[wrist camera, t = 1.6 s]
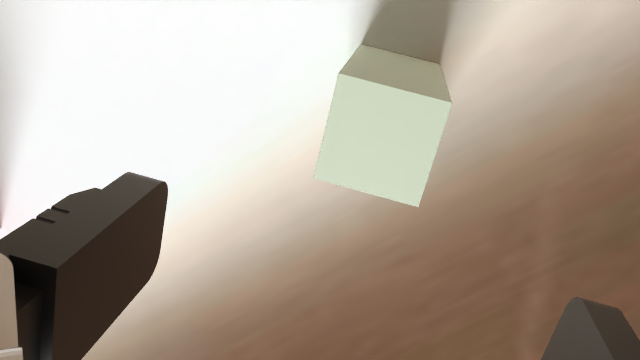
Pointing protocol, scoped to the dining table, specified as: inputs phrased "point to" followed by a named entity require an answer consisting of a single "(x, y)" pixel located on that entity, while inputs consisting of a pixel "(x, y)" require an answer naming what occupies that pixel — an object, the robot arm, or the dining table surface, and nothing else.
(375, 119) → the green peg
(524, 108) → the dining table surface
